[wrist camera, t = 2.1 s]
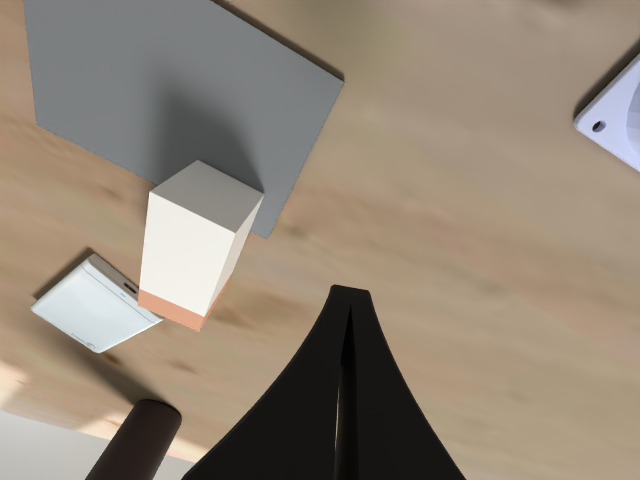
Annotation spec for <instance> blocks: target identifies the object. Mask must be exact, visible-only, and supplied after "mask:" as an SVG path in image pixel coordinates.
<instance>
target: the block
mask: <svg viewBox="0 0 640 480" xmlns="http://www.w3.org/2000/svg"><path fill="white" fill-rule="evenodd" d="M263 197H264V194H263V193H261V192H259V191H257V190H255V189H253V188H251V187H249V186H247V185H246V184H244V183H242V182H240V181H238V180H236V179H234V178H232V177H230V176H228V175H226V174H224V173H222V172H220V171H218V170H216V169H215V168H213V167H211V166H209V165H207V164H205V163H203V162H201V161H199V160H197V161H195V162H194V163H192V164H191V165H189V166H188V167H186V168H185V169H183V170H181V171H180V172H178V173H177V174H175V175H174V176H172V177H171V178H169V179H168V180H166V181H165V182H163V183H162V184H160V185H159V186H157V187H156V188H154V189H153V190H151V191H150V192H149V202H148V211H147V220H146V230H145V239H144V249H143V258H142V267H141V277H140V286H139V295H138V305H137V306H140V307H142V308H144V309H147V310H149V311H152V312H154V313H156V314H159V315H161V316H163V317H166V318H168V319H170V320H173V321H175V322H177V323H180V324H182V325H184V326H187V327H189V328H191V329H194V330H196V331H198V332H199V331H200V329H201V327H202V326H203V324H204V322H205V321H206V319H207V318H208V316H209V314H210V313H211V311H212V309H213V308H214V306H215V305H216V303H217V301H218V300H219V298H220V296H221V295H222V293H223V292H224V290H225V288H226V286H227V284H228V282H229V279H230V277H231V274H232V272H233V270H234V267H235V265H236V262H237V260H238V257H239V255H240V253H241V250H242V248H243V245H244V243H245V240H246V238H247V236H248V233H249V231H250V228H251V226H252V223H253V221H254V219H255V216H256V214H257V211H258V209H259V207H260V204H261V202H262V199H263Z"/></svg>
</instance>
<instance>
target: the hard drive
mask: <svg viewBox="0 0 640 480" xmlns="http://www.w3.org/2000/svg"><path fill="white" fill-rule="evenodd" d="M138 295H139V289H138V288H137V287H136V286H135V285H134V284H132V283H131V282H130V281H129V280H127V279H126V278H125V277H124V276H122V275H121V274H120V273H119V272H118V271H116V270H115V269H114V268H113V267H111V266H110V265H109V264H108V263H106V262H105V261H104V260H103V259H102V258H100V257H99V256H98V255H97V254H95V253H94V254H92V255H91V256H89V257H88V258H87V259H85V260H84V261H83V262H82V263H81V264H80V265H78V266H77V267H76V268H75V269H74V270H73V271H71V272H70V273H69V274H68V275H67V276H65V277H64V278H63V279H62V280H61V281H59V282H58V283H57V284H56V285H55V286H54V287H52V288H51V289H50V290H49V291H48V292H47V293H45V294H44V295H43V296H42V297H41V298H40V299H39V300H37V301H36V302H35V303H34V304H33V305H32V306H31V307H30V308H31V310H32V311H33V312H34V313H36V314H37V315H39V316H40V317H42V318H43V319H45V320H46V321H48V322H50V323H51V324H53V325H54V326H56V327H57V328H59V329H60V330H62V331H63V332H65V333H66V334H68V335H69V336H71V337H73V338H74V339H76V340H77V341H79V342H80V343H82V344H83V345H85V346H86V347H88V348H89V349H91V350H92V351H94V352H96V353H101V352H103V351H105V350H107V349H109V348H111V347H113V346H115V345H116V344H118V343H120V342H122V341H124V340H126V339H128V338H130V337H132V336H134V335H136V334H138V333H140V332H142V331H143V330H145V329H147V328H149V327H151V326H153V325H155V324H156V323H158V322H160V321H162V320H164V319H165V317H163V316H161V315H159V314H156V313H154V312H152V311H149V310H147V309H144V308H142V307H140V306H137V305H138Z"/></svg>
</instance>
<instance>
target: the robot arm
mask: <svg viewBox="0 0 640 480" xmlns="http://www.w3.org/2000/svg"><path fill="white" fill-rule="evenodd" d="M598 121H600V125H599V127H598V128H597V129H595V130H592V128H593V126H594V124H595V123H597V122H598ZM574 127H575V128H576V130H578V131H579V132H581V133H582V134H584V135H585V136H587V137H588V138H590V139H591V140H593V141H594V142H596V143H597V144H599V145H600V146H602V147H603V148H604V149H606V150H607V151H609V152H610V153H612V154H613V155H615V156H616V157H618V158H619V159H621V160H622V161H624V162H625V163H627V164H628V165H630V166H631V167H633V168H634V169H636V170H637V171H638V172H640V53H639V54H638V55H637V56H636V57H635V58H634V59H633V60H632V61H631V62H630V63H629V64H628V65H627V66H626V67H625V68H624V69H623V70H622V71H621V72H620V73H619V74H618V75H617V76H616V77H615V78H614V79H613V80H612V81H611V82H610V83H609V84H608V85H607V86H606V87H605V88H604V89H603V90H602V91H601V92H600V93H599V94H598V95H597V96H596V97H595V98H594V99H593V100H592V101H591V102H590V103H589V104H588V105H587V106H586V107H585V108H584V109H583V110H582V111H581V112H580V113H579V114H578V116H577V117H576V118H575V121H574ZM338 388H339V399H338ZM337 404H338V428H337V439H336V421H337ZM335 441H336V449H335ZM181 480H466V479H465V477H464V476H463V474H462V473H461V471H460V470H459V469H458V467H457V466H456V464H455V463H454V461H453V460H452V458H451V457H450V455H449V454H448V452H447V451H446V449H445V447H444V446H443V444H442V443H441V441H440V440H439V438H438V437H437V435H436V434H435V432H434V431H433V429H432V428H431V426H430V424H429V423H428V421H427V419H426V418H425V416H424V414H423V413H422V411H421V409H420V408H419V406H418V404H417V402H416V401H415V399H414V397H413V395H412V393H411V392H410V390H409V388H408V386H407V384H406V382H405V380H404V378H403V376H402V374H401V372H400V370H399V368H398V366H397V364H396V362H395V360H394V358H393V355H392V353H391V351H390V349H389V346H388V344H387V341H386V339H385V337H384V334H383V332H382V329H381V327H380V324H379V321H378V318H377V315H376V312H375V309H374V306H373V302H372V299H371V294H370V292H369V291H368V290H363V289H357V288H352V287H346V286H340V285H335V284H334V285H333V286H331V289H330V292H329V295H328V298H327V300H326V303H325V305H324V307H323V309H322V311H321V313H320V315H319V317H318V319H317V320H316V322H315V324H314V326H313V328H312V329H311V331H310V332H309V334H308V336H307V337H306V339H305V340H304V342H303V343H302V345H301V346H300V348H299V349H298V351H297V352H296V354H295V355H294V356H293V358H292V359H291V361H290V362H289V363H288V365H287V366H286V367H285V368H284V370H283V371H282V372H281V374H280V375H279V376H278V377H277V379H276V380H275V381H274V382H273V383H272V385H271V386H270V387H269V388H268V390H267V391H266V392H265V393H264V394H263V395H262V397H261V398H260V399H259V400H258V401H257V402H256V403H255V405H254V406H253V407H252V408H251V409H250V410H249V411H248V412H247V413H246V414H245V415H244V416H243V417H242V418H241V419H240V420H239V422H238V423H237V424H236V425H235V426H234V427H233V428H232V429H231V430H230V431H229V432H228V433H227V434H226V435H225V436H224V437H223V438H222V439H221V440H220V441H219V442H218V443H217V444H216V445H215V446H214V447H213V448H212V449H211V450H210V451H209V452H208V453H207V454H206V455H204V456H203V457H202V458H201V459H200V460H199V461H198V462H197V463H196V464H195V465H194V466H193V467H192V468H191V469H190V470H189V471H188V472H187V473H186V474H185V475H184V476H183V478H182V479H181Z"/></svg>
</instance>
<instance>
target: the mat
mask: <svg viewBox="0 0 640 480" xmlns="http://www.w3.org/2000/svg"><path fill="white" fill-rule="evenodd" d="M23 3H24V13H25V22H26V31H27V40H28V50H29V59H30V68H31V78H32V87H33V96H34V106H35V115H36V124H37V125H38V126H40V127H42V128H44V129H46V130H48V131H50V132H52V133H54V134H56V135H58V136H60V137H62V138H64V139H66V140H68V141H70V142H72V143H74V144H76V145H78V146H80V147H82V148H84V149H86V150H88V151H90V152H92V153H94V154H96V155H98V156H100V157H102V158H104V159H106V160H108V161H110V162H112V163H114V164H116V165H118V166H120V167H122V168H124V169H126V170H128V171H130V172H132V173H134V174H136V175H138V176H140V177H142V178H144V179H146V180H148V181H150V182H152V183H154V184H156V185H158V186H159V185H160V184H162V183H163V182H165V181H166V180H168V179H169V178H171V177H172V176H174V175H175V174H177V173H178V172H180V171H181V170H183V169H185V168H186V167H188V166H189V165H191V164H192V163H194V162H195V161H197V160H199V161H201V162H203V163H205V164H207V165H209V166H211V167H213V168H215V169H216V170H218V171H220V172H222V173H224V174H226V175H228V176H230V177H232V178H234V179H236V180H238V181H240V182H242V183H244V184H246V185H247V186H249V187H251V188H253V189H255V190H257V191H259V192H261V193H263V194H264V197H263V199H262V202H261V204H260V207H259V209H258V211H257V214H256V216H255V219H254V221H253V223H252V226H251V228H250V231H251V232H253V233H255V234H257V235H259V236H261V237H263V238H265V239H268V237H269V235H270V233H271V231H272V229H273V227H274V225H275V223H276V221H277V219H278V217H279V215H280V213H281V211H282V209H283V206H284V204H285V202H286V200H287V198H288V196H289V194H290V192H291V190H292V188H293V186H294V184H295V182H296V180H297V178H298V176H299V174H300V172H301V170H302V168H303V166H304V164H305V162H306V160H307V158H308V155H309V153H310V151H311V149H312V147H313V145H314V143H315V141H316V139H317V137H318V135H319V133H320V131H321V129H322V127H323V125H324V123H325V121H326V119H327V117H328V115H329V113H330V111H331V109H332V107H333V104H334V102H335V100H336V98H337V96H338V94H339V92H340V90H341V88H342V86H343V84H344V81H342V80H340V79H339V78H337V77H336V76H334V75H332V74H331V73H329V72H327V71H326V70H324V69H323V68H321V67H319V66H318V65H316V64H314V63H313V62H311V61H309V60H308V59H306V58H305V57H303V56H301V55H300V54H298V53H296V52H295V51H293V50H292V49H290V48H288V47H287V46H285V45H283V44H282V43H280V42H278V41H277V40H275V39H274V38H272V37H270V36H269V35H267V34H265V33H264V32H262V31H261V30H259V29H257V28H256V27H254V26H252V25H251V24H249V23H247V22H246V21H244V20H243V19H241V18H239V17H238V16H236V15H234V14H233V13H231V12H230V11H228V10H226V9H225V8H223V7H221V6H220V5H218V4H216V3H215V2H213V1H212V0H23Z"/></svg>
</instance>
